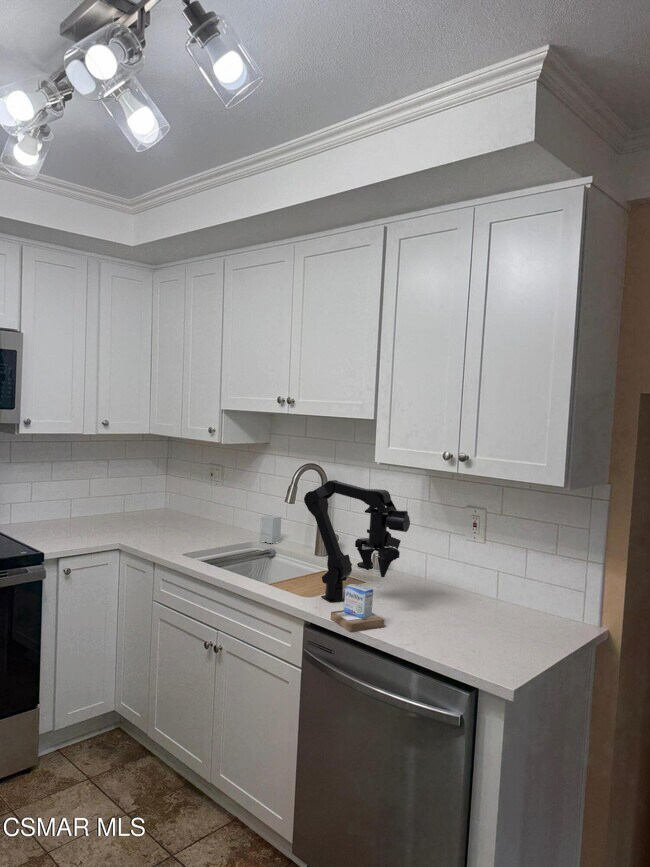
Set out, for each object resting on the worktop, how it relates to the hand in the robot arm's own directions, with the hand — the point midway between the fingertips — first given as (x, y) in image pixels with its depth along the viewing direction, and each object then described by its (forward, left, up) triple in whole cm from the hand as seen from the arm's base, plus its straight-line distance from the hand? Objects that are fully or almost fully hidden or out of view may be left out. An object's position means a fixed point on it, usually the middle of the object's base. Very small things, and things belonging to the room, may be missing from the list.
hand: (375, 573), depth 213 cm
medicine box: (+11, -13, -9) cm, 19 cm away
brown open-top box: (+11, -13, -12) cm, 21 cm away
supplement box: (-102, +11, -12) cm, 104 cm away
